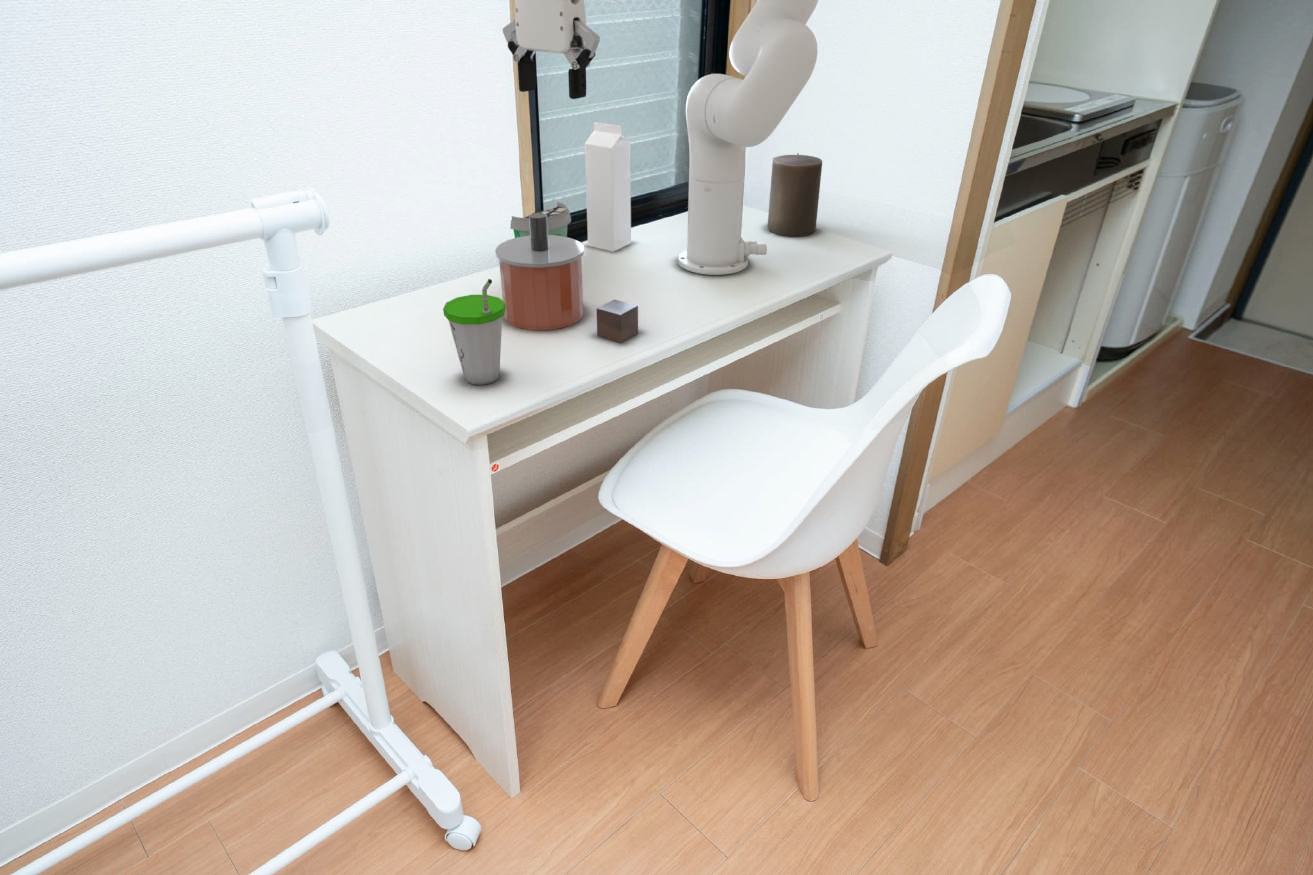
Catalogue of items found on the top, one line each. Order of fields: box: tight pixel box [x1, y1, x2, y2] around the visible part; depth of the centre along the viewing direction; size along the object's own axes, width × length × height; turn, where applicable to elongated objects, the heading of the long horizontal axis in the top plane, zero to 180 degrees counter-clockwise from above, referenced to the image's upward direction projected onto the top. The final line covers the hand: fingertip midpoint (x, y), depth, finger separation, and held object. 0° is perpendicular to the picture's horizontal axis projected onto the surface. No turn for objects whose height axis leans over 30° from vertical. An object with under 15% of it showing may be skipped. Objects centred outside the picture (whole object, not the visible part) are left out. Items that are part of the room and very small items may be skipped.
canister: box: [498, 257, 584, 331], centre depth 130 cm, size 12×12×10 cm
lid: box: [494, 212, 585, 268], centre depth 126 cm, size 13×13×6 cm
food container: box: [509, 201, 572, 238], centre depth 148 cm, size 12×6×10 cm, turn 143°
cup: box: [442, 278, 506, 386], centre depth 110 cm, size 8×8×15 cm
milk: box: [584, 121, 632, 252], centre depth 156 cm, size 6×6×22 cm
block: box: [596, 299, 639, 344], centre depth 125 cm, size 4×4×4 cm
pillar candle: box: [767, 152, 823, 237], centre depth 167 cm, size 10×10×15 cm
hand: (552, 94), depth 126 cm, fingers open, 9 cm apart
